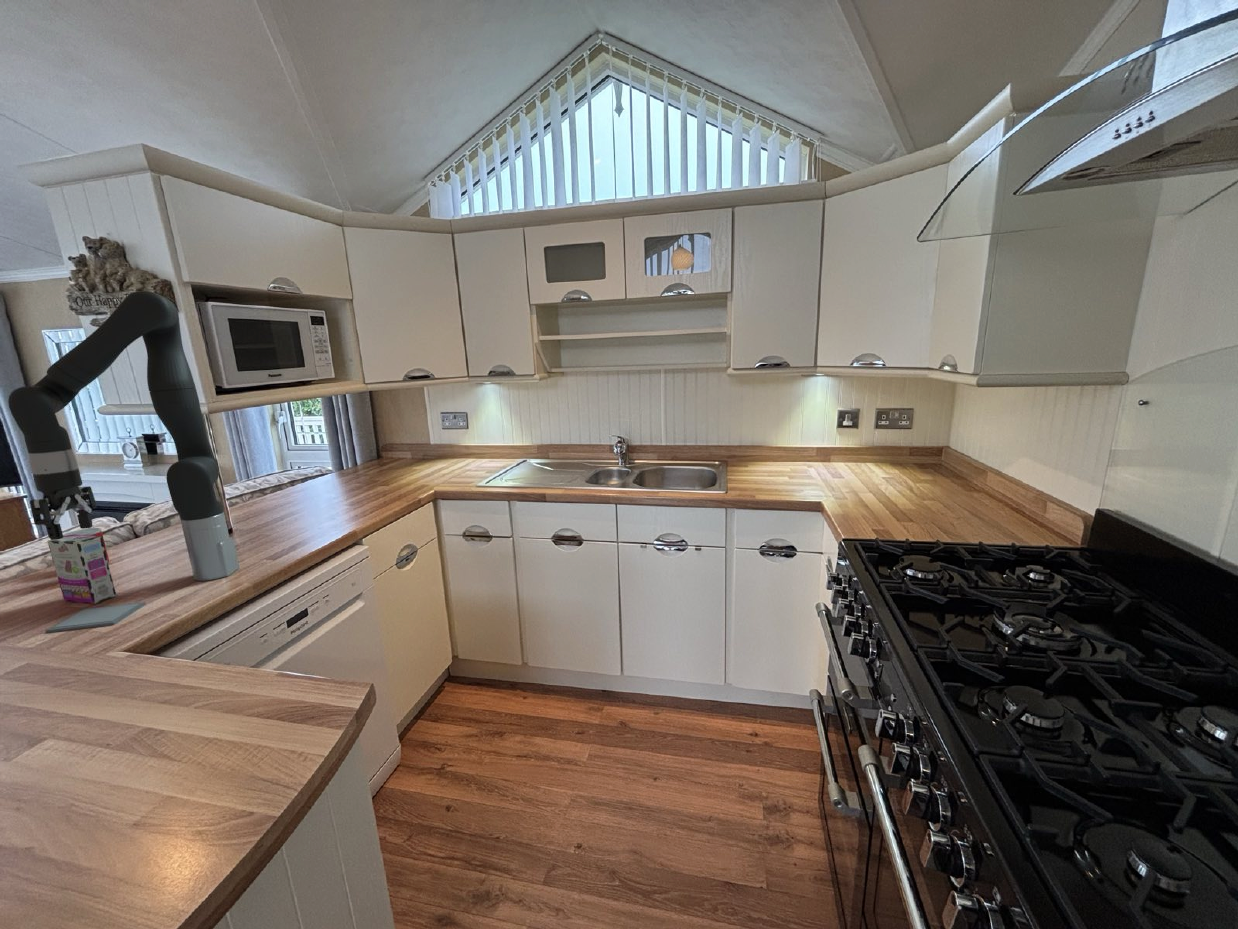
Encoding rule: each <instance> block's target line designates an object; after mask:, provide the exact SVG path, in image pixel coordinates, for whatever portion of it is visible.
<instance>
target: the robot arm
mask: <svg viewBox="0 0 1238 929" xmlns="http://www.w3.org/2000/svg"><path fill="white" fill-rule="evenodd" d="M180 326H181V325H180V316H179V312H178V309H177V306H176V305H175V304H174V303H173V302H172V301H171V300H170V299H168V298H167V297H165V296H163V295H160V294H159V293H156V292H153V291H149V290H137V291H134V292H131V293H129V294H127V296H126V297H125V298H124V299H123V300H122V301H121V302H120V303H119V305H118V306H117V307H116V309H114V311H112V313H111V314H110V315H109V317H108V318H107V319H106V320H105V321H103V323H102V324H101V325H100V326H99V327H97V329H95V330H94V331H93V332H92V333H91V334H90V335H89V336H87V337H86V338H85V339H83V340H82V341H81V342H80V343H78V344H77V345H76V346H75V347H73V348H72V349H70V350H69V351H68V352H66V353H65V354H64V355H63V356H62V357H60V358H59V359H57V361H55V362H54V363H52V364H51V365H50V366H49V367H48V368H47V369H46V370H47V371H46V375H45V376H43V377H42V378H41V379H40V380H38V382H36V383H35V384H33V385H32V386H31V385H30V386H20V387H18V388H16V389H14V390H12V392H10V394H9V396H8V399H7V400H8V408H9V410H10V414H11V416H12V417H13V419H14V421H15V423H16V425H17V426H18V428H19V430H20V431H21V433H22V434H23V435H22V436H23V438H24V442H25V446H26V449H27V453H28V462H29V466H30V471H31V475H32V477H33V481H34V485H35V489H36V491H37V492H40V493H42V498H39V499H38V498H37V499H31V500H29V505H30V510H31V514H32V519H33V523H34V525H37V526H39V525H41V526H42V525H43V526H45V529H46V531H47V532H46V533H47V537H48V538H49V540H57V539H61V538H63V535H64V534H63V531H62V527H61V526H62V525H61V523H60V521H61V517H62V516H64V515H65V513H66V512H67V511H69V510H73V511H74V512H75V513H76V518H77V521H78V525H79V528H80V529H81V530H82V529H89V528H93V519H92V516H91V513H92V510H93V509H97V508H98V506H97V502H96V499H95V496H94V495H95V494H94V493H93V489H92V487H91V486H82V485H83V480H82V476H81V473H80V469H79V465H78V461H77V460H78V459H77V458H76V455H75V453H74V451H73V447H72V443H71V439H70V436H69V432H68V431H67V429H66V428H65V427H64V426H61V425H60V423H59V420H58V418H57V415H56V413H59V412H60V411H61V410H63V409H64V408H66V407H67V406H68V405H69V404H70V403H71V402H72V401H73V400H74V399H75V397H77V395H79V393H80V392H81V390H83V389H84V388H86V387H87V386H89V384H91V383H93V382H94V381H95V380H96V379H98V377H100V376H101V375H103V373H105V372H106V370H108V369H109V368H110V367H111V365H113V363H114V362H115V361H116V360H117V359H118V358H119V356H120V355H121V354H122V353H123V352H124V351H125V350H126V348H128V346H130V345H131V344H133V343H134V342H136V341H137V340H138V339H139V338H141V337H142V339H143V343H144V346H145V349H146V354H147V355H146V356H147V358H146V360H147V362H146V363H147V364H146V365H147V366H146V380H147V386H148V387H147V388H148V391H149V397H150V399H151V403H152V406H153V409H154V411H155V413H156V415H157V416H158V419H159V420H160V422H161V423H162V424H163V426H164V427H165V428H166V430H167V431H168V432H169V434H170V436H171V438H172V440H173V443H174V447H175V450H176V455H177V461H176V462H174V463H172V464H171V465H170V466H169V467H168V469H167V471H166V483H167V488H168V491H169V495H170V499H171V502H172V505H173V508H174V510H175V511H176V512H177V513H178V515H179V520H180V523H181V529H182V532H183V537H184V541H185V545H186V549H187V553H188V558H189V562H190V566H191V570H192V574H193V578H194V580H195V581H198V582H202V581H203V582H204V581H211V580H216V579H220V578H224V577H229V576H230V575H231V574H233V573H234V572H236V571H237V570H238V569H239V568H240V564H239V559H238V554H237V550H236V544H235V540H234V536H230V533H229V529H228V526H227V525H228V524H227V521H226V516H225V511H224V506H223V503H222V501H219V500H218V499H217V497H216V494H215V491H214V486H213V485H214V484H215V483H216V482H217V481H218V479H219V476H220V468H219V464H218V462H217V459H216V457H215V454H214V452H213V450H212V447H211V444H210V441H209V439H208V438H209V437H208V436H207V431H206V426H205V420H204V417H203V412H202V409H201V402H200V399H199V394H198V392H197V388H196V383H195V381H194V377H193V375H192V374H193V373H192V370H191V368H190V365H189V361H188V360H187V357H186V354H185V351H184V350H185V349H184V346H183V340H182V334H181V327H180ZM87 501H88V502H89V504H88V502H87ZM41 515H42V517H41ZM52 517H53V518H52ZM42 518H43V519H42Z"/></svg>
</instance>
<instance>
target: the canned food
mask: <svg viewBox="0 0 1238 929" xmlns="http://www.w3.org/2000/svg"><path fill="white" fill-rule="evenodd" d="M103 534H104V533H103V531H102V529H101V528H100V527H91V528H84V529H82V528H81V529H79V530H77V529H76V530H75V531H74V530H73V531H70V532H67V533H64V534H63V536H67V535H91V536H101V538H102V542H103V546H104V549H105V553H106V557H107V561H108V565H109V564H110V558H109V554H108V551H107V546H106V543H105V539H104V535H103Z"/></svg>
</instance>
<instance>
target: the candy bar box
mask: <svg viewBox="0 0 1238 929" xmlns="http://www.w3.org/2000/svg"><path fill="white" fill-rule="evenodd" d="M46 542H47V546H48V548H49V551H50V555H51V556H50V557H51V560H52V562H53V567H54V569H55V572H56V577H57V580H58V584H59V587H60V590H61V593H62V599H63V601H64V602H70V603H78V604H91V605H95V604H98V603H102V602H105V601H107V600H110V599H112V598H114V597H117V593H116V589H115V586H114V581H113V578H112V577H113V576H112V574H111V569H110V567H109V566H110V565H109V564H108V561H107V557H106V553H105V549H104V546H103V542H102V538H101V536H89V535H67V536H63V538H61V539H57V540H51V539H49V540H47V541H46Z"/></svg>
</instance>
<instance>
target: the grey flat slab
mask: <svg viewBox="0 0 1238 929" xmlns="http://www.w3.org/2000/svg"><path fill="white" fill-rule="evenodd" d="M146 604H147V603H146V601H143V602H133V603H132V602H131V603H124V604H115V605H107V606H99V607H98V606H96V607H90V608H88V607H87V608H83V609H80V610H79V611H77V612H75V613H73V614H72V615H69V616H68V617H66V618H65V619H63V620H61V621H59V622H57V623H55V624H53V626H51V627H49V628H46V629H45V630H44V632H45V633H56V632H64V631H65V632H66V631H74V630H80V629H82V630H83V629H88V628H89V629H91V628H97V627H106V626H115V625H117V624H118V623H120V622H121V621H122V620H124V619H125V618H127V617H129V616H130V615H132V614H133V613H135V612H136V611H137V610H139V609H141V608H142V607H144V606H145V605H146Z"/></svg>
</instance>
